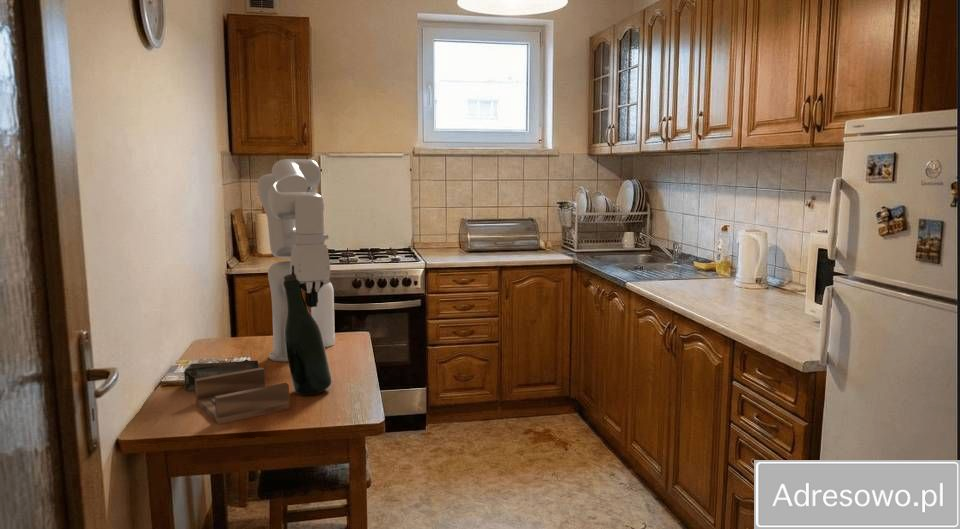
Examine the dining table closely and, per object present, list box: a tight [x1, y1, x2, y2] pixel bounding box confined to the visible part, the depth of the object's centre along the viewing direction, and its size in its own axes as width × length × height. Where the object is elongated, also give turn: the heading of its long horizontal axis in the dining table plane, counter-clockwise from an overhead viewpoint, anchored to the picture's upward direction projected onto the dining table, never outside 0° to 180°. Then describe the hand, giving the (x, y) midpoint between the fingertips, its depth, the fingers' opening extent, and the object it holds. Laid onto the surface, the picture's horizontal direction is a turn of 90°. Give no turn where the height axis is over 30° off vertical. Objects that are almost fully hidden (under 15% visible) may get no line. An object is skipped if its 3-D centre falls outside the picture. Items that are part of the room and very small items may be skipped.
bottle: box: [310, 282, 336, 348], centre depth 239 cm, size 8×8×30 cm
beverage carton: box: [183, 360, 259, 391], centre depth 196 cm, size 8×19×7 cm, turn 99°
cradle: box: [194, 367, 290, 425], centre depth 179 cm, size 19×18×6 cm
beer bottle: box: [283, 274, 333, 396], centre depth 187 cm, size 10×10×33 cm
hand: (311, 306), depth 188 cm, fingers closed
